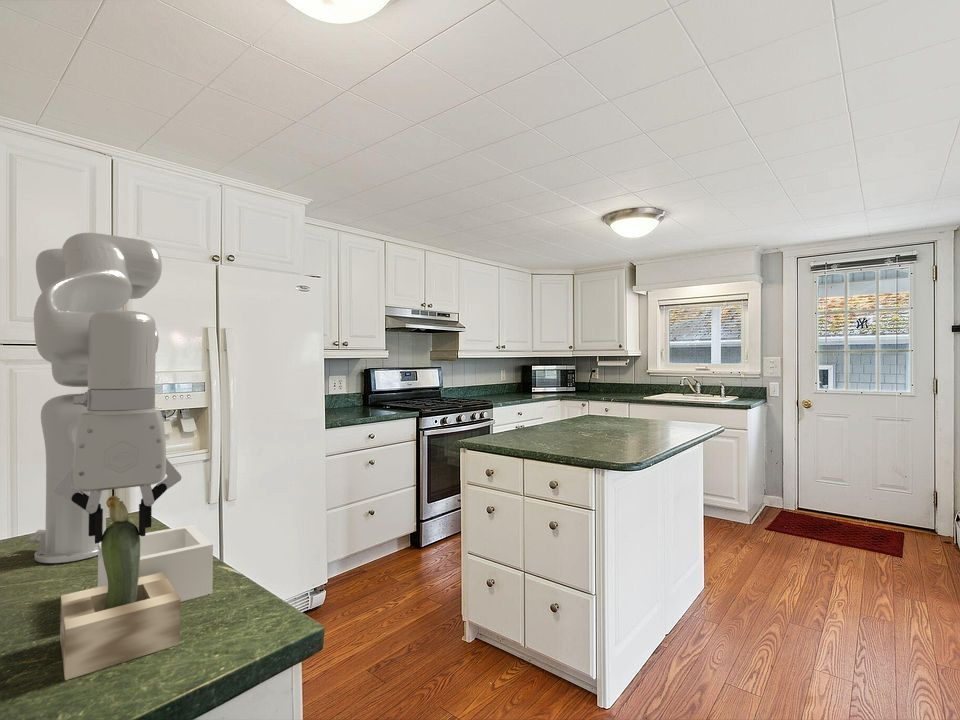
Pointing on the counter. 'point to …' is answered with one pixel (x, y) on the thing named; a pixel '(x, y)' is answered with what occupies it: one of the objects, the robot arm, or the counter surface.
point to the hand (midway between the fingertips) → (120, 535)
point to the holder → (117, 626)
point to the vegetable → (120, 556)
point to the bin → (174, 560)
